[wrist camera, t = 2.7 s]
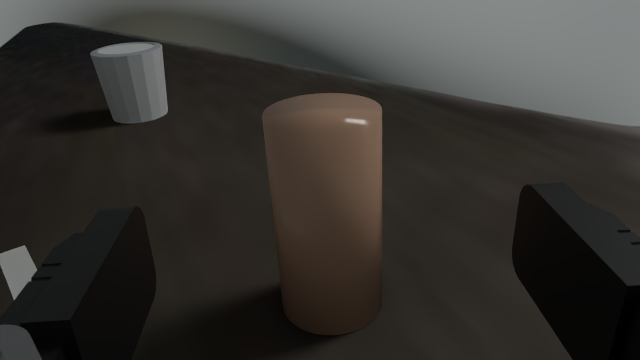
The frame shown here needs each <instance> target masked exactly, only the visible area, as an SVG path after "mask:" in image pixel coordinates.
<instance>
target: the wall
mask: <svg viewBox="0 0 640 360" xmlns="http://www.w3.org/2000/svg"><path fill="white" fill-rule="evenodd" d="M0 265H1V268H2V270H3V273H4V275H5V278H6V280H7V283H8V286H9V288H10V291H11V293H12V296H13V298H14V300H15V299H16V297H17V296H18V295H19V293H20V292H21V291H22V289H23V288H24V287H25V285H26V284H27V283H28V282H29V281H31V277H32V276H33V275H34V273H35V272H36V271H37V269H36V267H35V265H34V263H33V261H32V259H31V257H30V255H29V253H28V251H27V249H26V247H25V245H24V246H21V247H18V248H15V249H13V250H10V251H7V252H4V253H1V254H0Z"/></svg>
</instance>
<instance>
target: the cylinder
mask: <svg viewBox="0 0 640 360" xmlns="http://www.w3.org/2000/svg"><path fill="white" fill-rule="evenodd" d="M262 119H263V128H264V138H265V147H266V156H267V165H268V175H269V184H270V193H271V203H272V212H273V221H274V230H275V240H276V249H277V258H278V267H279V277H280V286H281V295H282V305H283V310H284V313H285V315H286V317H287V318H288V319H289V320H290V321H291V323H293V324H294V325H295V326H297V327H298V328H300V329H302V330H305V331H307V332H310V333H314V334H319V335H341V334H347V333H350V332H354V331H356V330H359V329H361V328H363V327H365V326H366V325H368V324H369V323H371V322H372V321H373V320H374V319H375V318H376V316H377V315H378V313H379V311H380V309H381V306H382V108H381V106H380V105H379V104H378V103H377V102H375V101H374V100H372V99H369V98H366V97H362V96H358V95H351V94H341V93H321V94H310V95H302V96H297V97H292V98H288V99H285V100H282V101H279V102H277V103H274V104H272V105H271V106H269V107H268V108H266V109H265V111H264V112H263V114H262Z"/></svg>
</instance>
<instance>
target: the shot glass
mask: <svg viewBox="0 0 640 360" xmlns="http://www.w3.org/2000/svg"><path fill="white" fill-rule="evenodd" d="M90 55H91V57H92V60H93V63H94V66H95V69H96V72H97V75H98V78H99V80H100V83H101V86H102V89H103V92H104V95H105V98H106V101H107V103H108V106H109V109H110V112H111V115H112V118H113V120H114V121H115V122H119V123H128V124H132V123H142V122H147V121H151V120H154V119H157V118H160V117H162V116H164V115H165V114H167V111H168V107H167V96H166V85H165V75H164V64H163V53H162V45H161V44H159V43H153V42H132V43H122V44H116V45H111V46H107V47H103V48H99V49H97V50H94V51H93V52H91V53H90Z"/></svg>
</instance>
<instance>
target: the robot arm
mask: <svg viewBox="0 0 640 360" xmlns="http://www.w3.org/2000/svg"><path fill="white" fill-rule="evenodd" d="M512 259H513V265H514V269H515V272H516V274H517V276H518V278H519V280H520V281H521V283H522V284H523V286H524V287H525V289H526V290H527V292H528V293H529V295H530V296H531V298H532V299H533V301H534V302H535V304H536V305H537V307H538V308H539V310H540V311H541V313H542V314H543V316H544V317H545V319H546V320H547V322H548V323H549V325H550V326H551V328H552V329H553V331H554V332H555V334H556V335H557V337H558V338H559V340H560V341H561V343H562V344H563V346H564V347H565V349H566V350H567V352H568V353H569V355H570V356H571V358H572V359H573V360H640V238H639V237H638V236H637V235H636V234H635V233H631V232H630V229H629V228H628V227H627V226H626V225H624V224H623V223H622V222H621V221H620V220H619V219H618V218H616V217H615V216H614V215H612V214H610V213H608V212H606V211H604V210H602V209H600V208H598V207H596V206H594V205H592V204H587V203H586V202H585V201H583V200H582V199H581V198H580V197H579V196H578V195H577V194H576V193H575V192H573V191H572V190H571V189H570V188H569V187H568V186H567V185H566V184H564V183H546V184H529V185H525V186H524V187H523V188H522V190H521V193H520V197H519V204H518V211H517V218H516V225H515V232H514V239H513V246H512ZM155 291H156V271H155V266H154V261H153V256H152V251H151V247H150V242H149V237H148V232H147V228H146V223H145V218H144V215H143V212H142V210H141V208H140V207H138V206H133V207H116V208H101V209H100V210H99V211H98V212H97V213H96V215H95V216H94V218H93V219H92V221H91V222H90V223H89V225H88V226H87V228H86V229H85V231H84V232H83V233H75V234H73V235H72V236H70V237H69V238H67V239H66V240H65V241H63V242H62V243H60V244H59V245H57V246H56V247H54V248H53V250H52V251H51V252H50V254H49V255H48V256H47V258H46V259H45V260H44V262H43V263H42V267H39V268H38V270H37V271H36V272H35V273H34V275H33V276H32V277H31V281H29V282H28V283H27V284H26V285H25V287H24V288H23V289H22V291H21V292H20V293H19V295H18V296H17V297H16V299H15V300H14V301H13V302H12V304H11V305H10V306H9V308H8V309H7V310H6V312H5V313H4V314H3V316H2V317H1V318H0V360H131V358H132V356H133V353H134V350H135V348H136V345H137V342H138V340H139V337H140V334H141V332H142V329H143V326H144V324H145V321H146V319H147V316H148V313H149V311H150V308H151V305H152V303H153V300H154V296H155Z"/></svg>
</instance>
